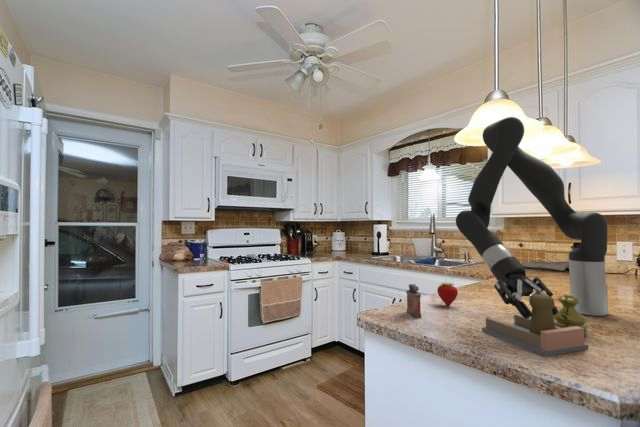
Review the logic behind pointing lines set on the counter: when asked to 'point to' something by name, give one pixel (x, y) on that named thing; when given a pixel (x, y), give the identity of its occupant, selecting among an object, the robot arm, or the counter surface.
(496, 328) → the guide track
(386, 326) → the counter surface
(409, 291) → the lighter
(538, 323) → the cork
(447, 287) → the strawberry
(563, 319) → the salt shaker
